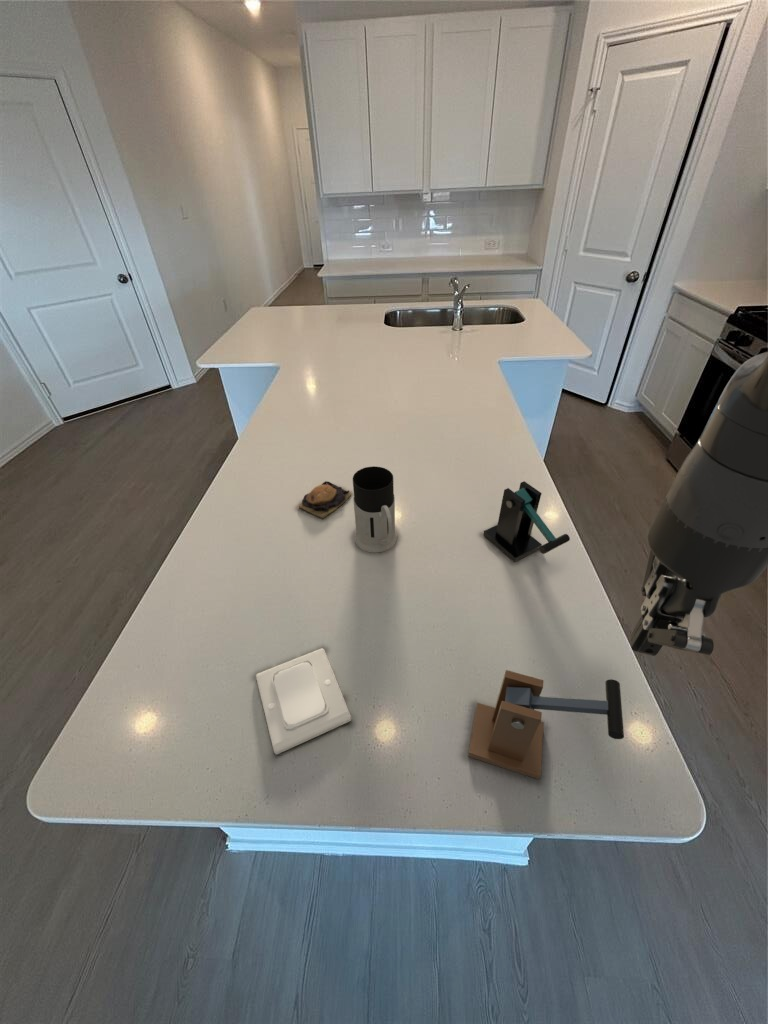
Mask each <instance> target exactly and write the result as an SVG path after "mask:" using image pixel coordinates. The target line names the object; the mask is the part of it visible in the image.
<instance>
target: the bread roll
mask: <svg viewBox="0 0 768 1024" xmlns="http://www.w3.org/2000/svg"><path fill="white" fill-rule="evenodd" d="M351 496H352V493H351V492H350V490H345V489H344V488H342V486H337V485H336V484H333V483H332V482H331V481H328V480H327V481H326V480H325V481H324V482H322V483H321V484H320V485H319V484H318V485H317V486H315V487H314V488H313V489H312V490H311V491H310V492H309V493H307V494H305V495H303V499H302V501H301V502H300V503H299V504H298V508H299V509H301V510H303V511H305V512H307V513H310V514H312V515H313V516H316V517H318V518H320V519H324V518H326V517H328V516H329V515H331V514H332V513H334V512H335V511H336V510H337V509H339V508H340V507H341V506H342V505H343V504H345V503H346V501H347V500H348V499H349V498H350V497H351Z"/></svg>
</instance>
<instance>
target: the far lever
mask: <svg viewBox="0 0 768 1024" xmlns="http://www.w3.org/2000/svg"><path fill="white" fill-rule="evenodd" d="M514 493H516V494H517V495H519V496H520V497H521V498H523V499H524V500H525V504H524V510H525V512H526V513H527V514H528V516H529V517H530V518H531V520H532V521H533V522H534V524H533V525H535V527H536V529H538V530H539V532H540V533H541V534H542V536H543V537H544V539H545V540H546V541H547V542H546V543H544V544H542V546H540V548H539V552H540V553H541V554H542V555H545V554H547V553H549V552H551V551H553V550H555V549H557V548H558V547H560V546H562V545H564V544H566V543H568V542H570V540H571V538H570V535H569V534H568V533H563V534H561V535H560V536H558V537H556V536H555V535H554V533H553V532H552V531H551V530H550V528H549V527H548V526H547V524H546V523H545V521H544V520H543V519H542V518H541V517H540V515H539V514H538V512H537V513H536V511H535V510H534V509H533V507H532V506H531V505H530V502H531V501H532V500H533V499H532V498H531V497H530V495H529V494H528V493H527V491H526V490H525V489H524V488H522V489H520V490H519V489H518V490H516V491H514Z"/></svg>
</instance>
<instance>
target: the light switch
mask: <svg viewBox="0 0 768 1024" xmlns="http://www.w3.org/2000/svg"><path fill="white" fill-rule="evenodd" d="M325 650H326V649H324V648H322V647H321V648H319V649H316V650H314V651H311V652H308V653H306V654H303V655H301V656H298V657H296V658H293V659H290V660H288V661H286V662H283V663H280V664H278V665H276V666H273V667H271V668H270V667H269V668H268V669H266V670H263V671H260V672H258V673H256V674H255V679H256V683H257V687H258V692H259V697H260V701H261V705H262V708H263V713H264V717H265V722H266V725H267V729H268V733H269V737H270V742H271V747H272V750H273V753H274V754H275V755H279V754H281V753H283V752H286V751H288V750H290V749H293V748H294V747H295V748H296V746H298V745H301V744H303V743H306V742H308V741H309V740H310V741H311V740H312V739H314V738H316V737H319V736H321V735H324V734H325V733H327V732H330V731H332V730H334V729H336V728H338V727H340V726H342V725H345V724H348V723H349V722H351V721H352V716H351V713H350V710H349V707H348V705H347V702H346V700H345V697H344V695H343V693H342V690H341V688H340V685H339V683H338V680H337V678H336V676H335V673H334V671H333V668H332V666H331V665H332V664H331V663H330V661H329V658H328V655H327V653H326V651H325Z"/></svg>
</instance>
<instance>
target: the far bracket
mask: <svg viewBox="0 0 768 1024" xmlns="http://www.w3.org/2000/svg"><path fill="white" fill-rule="evenodd" d="M522 488H524V489H525V490H526V491H527V493H528V494H529V495H530V497H531V498H532V499H533V500H532V501H531V502H530V505H531V506H532V507H533V509H534V510H535V511H536V513H537V514H538V509H539V505H540V501H541V498H542V494H543V493H542V492H541V491H540V490H538V489H536V488H535V487H533V486H532V485H531V484H530V483H528V482H526V481H520V484H519V487H518V490H520V489H522ZM524 504H525V500H524V499H523V498H521V497H520V496H519V495H517V494H516V493H515V491H513V490H512V489H510V488H509V487H507V488H505V489H503V496H502V499H501V504H500V510H499V514H498V520H497V524H496V525H493V526H492V527H489V528H487V529H485V530H483V534H482V535H483V537H485V538H486V539H487V540H488V541H489V542H491V544H492V545H494V546H495V547H496V548H497V549H498V550H499V551H500V552H502V553H503V554H504V555H505V556H506V557H507V558H509V559H510V560H511V561H512V563H516V562H518V561H520V560H522V559H523V558H526V557H527V556H529V555H531V554H534V553H535V552H537V551H540V549H539V548H540V546H542V545H543V544H542V543H541V542H540V541H538V540H537V539H536V538H535V537H533V536H532V531H533V527H534V525H535V524H534V522H533V521H532V520H531V518H530V517H529V516H528V514H527V513H526V512H525V510H524Z"/></svg>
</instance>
